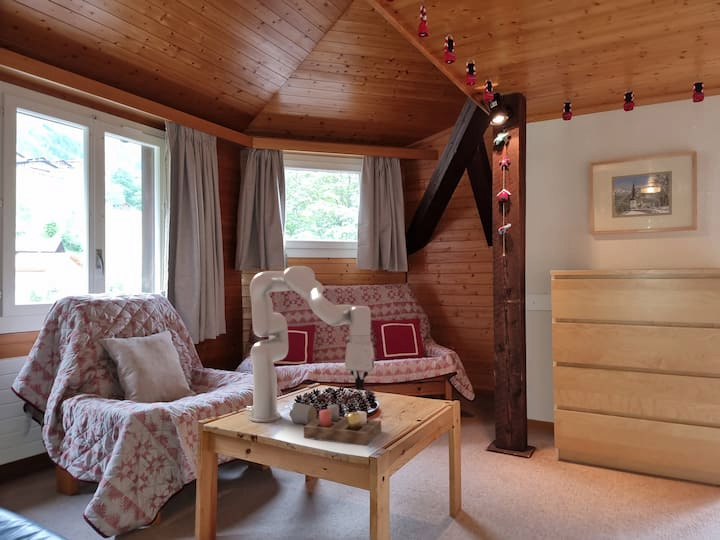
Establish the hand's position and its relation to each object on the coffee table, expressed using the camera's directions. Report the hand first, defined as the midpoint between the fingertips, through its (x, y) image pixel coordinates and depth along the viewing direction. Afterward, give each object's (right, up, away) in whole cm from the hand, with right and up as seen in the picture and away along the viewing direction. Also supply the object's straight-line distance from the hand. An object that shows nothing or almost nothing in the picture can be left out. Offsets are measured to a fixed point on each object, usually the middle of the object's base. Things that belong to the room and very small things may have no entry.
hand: (359, 389), depth 189 cm
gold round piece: (-2, -12, -7) cm, 14 cm away
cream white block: (0, -14, 0) cm, 14 cm away
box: (-6, -16, -2) cm, 17 cm away
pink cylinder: (-12, -13, -3) cm, 18 cm away
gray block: (-10, -13, +4) cm, 16 cm away
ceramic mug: (-21, -17, +14) cm, 31 cm away
